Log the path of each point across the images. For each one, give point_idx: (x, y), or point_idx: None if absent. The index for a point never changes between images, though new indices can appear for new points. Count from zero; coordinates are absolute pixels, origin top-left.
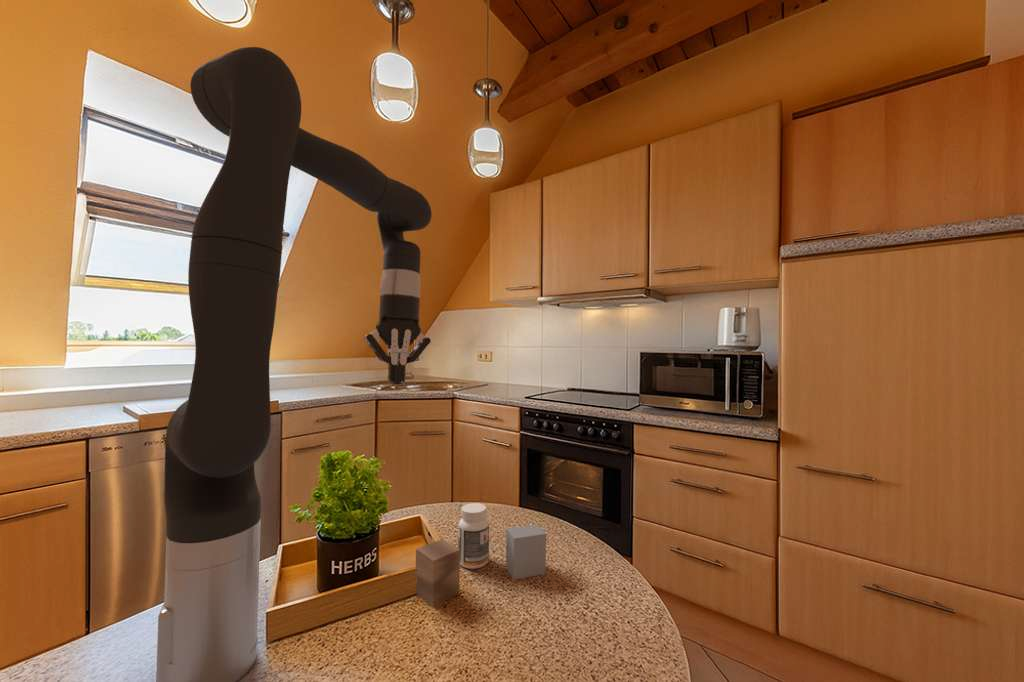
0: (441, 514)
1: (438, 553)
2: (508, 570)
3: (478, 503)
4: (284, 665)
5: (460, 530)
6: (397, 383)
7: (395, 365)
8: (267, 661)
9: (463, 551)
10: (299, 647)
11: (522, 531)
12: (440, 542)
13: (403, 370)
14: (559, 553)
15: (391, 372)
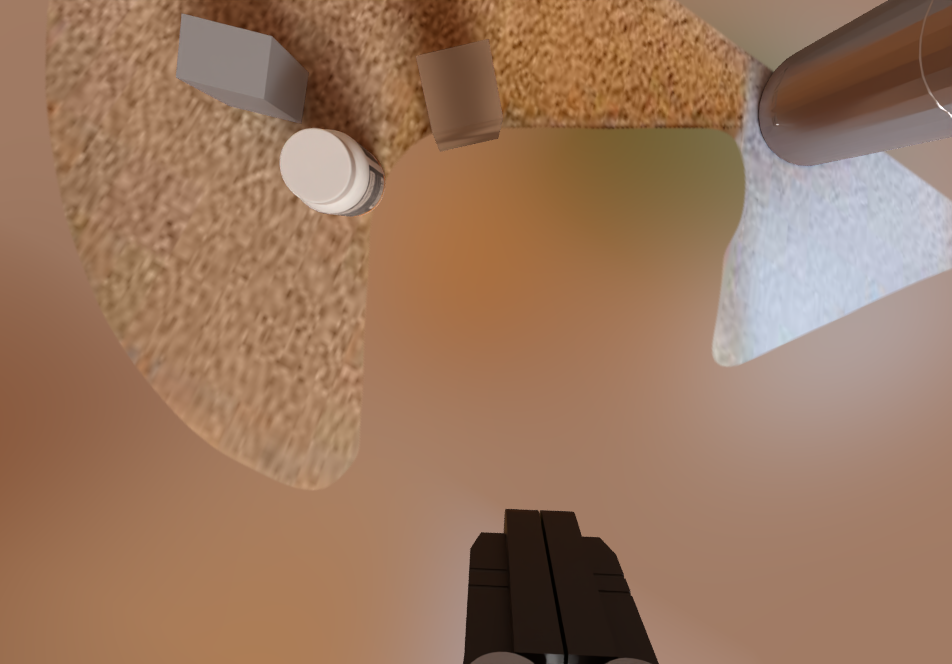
0: (332, 432)
1: (466, 65)
2: (302, 105)
3: (290, 188)
4: (727, 59)
5: (370, 169)
6: (537, 514)
7: (608, 655)
8: (746, 83)
9: (376, 163)
10: (702, 90)
11: (233, 60)
12: (442, 116)
13: (483, 619)
14: (160, 110)
15: (620, 604)
